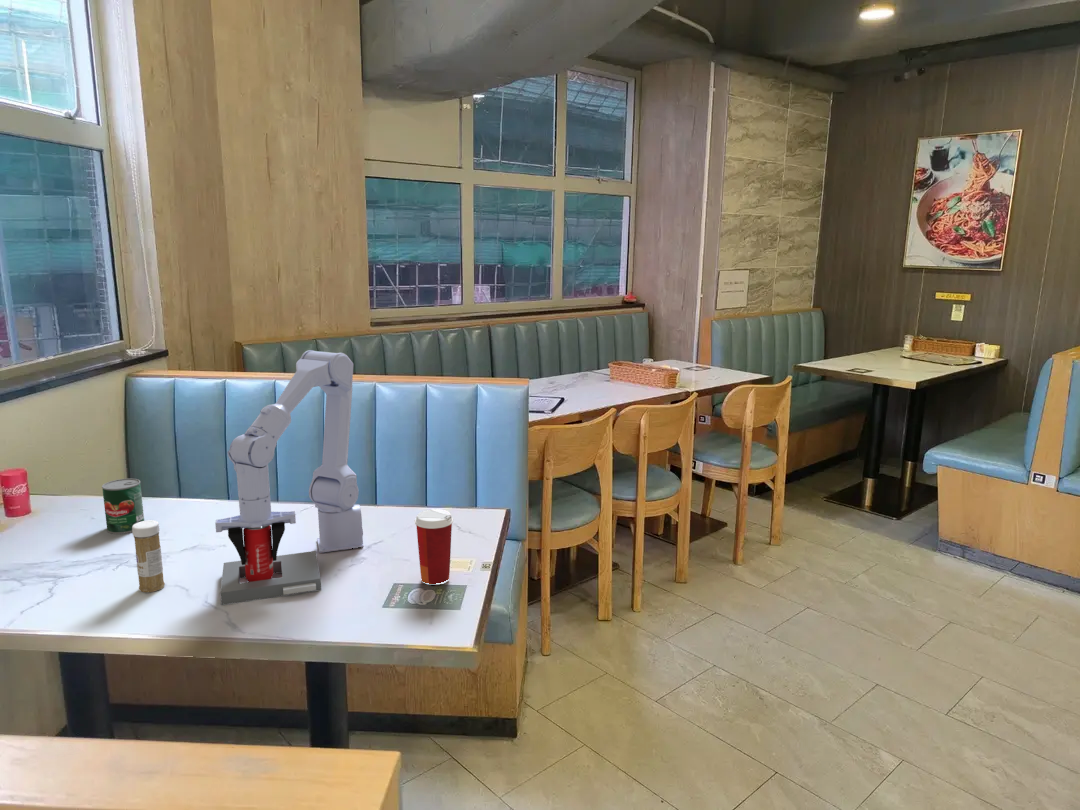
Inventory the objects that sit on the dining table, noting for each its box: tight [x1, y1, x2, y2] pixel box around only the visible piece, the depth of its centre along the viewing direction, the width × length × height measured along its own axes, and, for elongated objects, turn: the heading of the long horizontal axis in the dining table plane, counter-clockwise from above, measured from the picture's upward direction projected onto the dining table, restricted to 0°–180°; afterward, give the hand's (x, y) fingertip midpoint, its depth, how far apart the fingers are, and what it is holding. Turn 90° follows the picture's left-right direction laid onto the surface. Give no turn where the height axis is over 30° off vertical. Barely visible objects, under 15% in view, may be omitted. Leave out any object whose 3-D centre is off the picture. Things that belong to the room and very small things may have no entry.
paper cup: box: [414, 508, 454, 584], centre depth 145 cm, size 8×8×14 cm
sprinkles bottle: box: [131, 519, 166, 593], centre depth 140 cm, size 5×5×14 cm
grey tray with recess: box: [219, 550, 322, 606], centre depth 144 cm, size 18×15×2 cm
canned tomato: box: [101, 478, 145, 535], centre depth 171 cm, size 8×8×11 cm
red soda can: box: [243, 525, 274, 582], centre depth 144 cm, size 5×5×12 cm
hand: (259, 560), depth 143 cm, fingers open, 5 cm apart
